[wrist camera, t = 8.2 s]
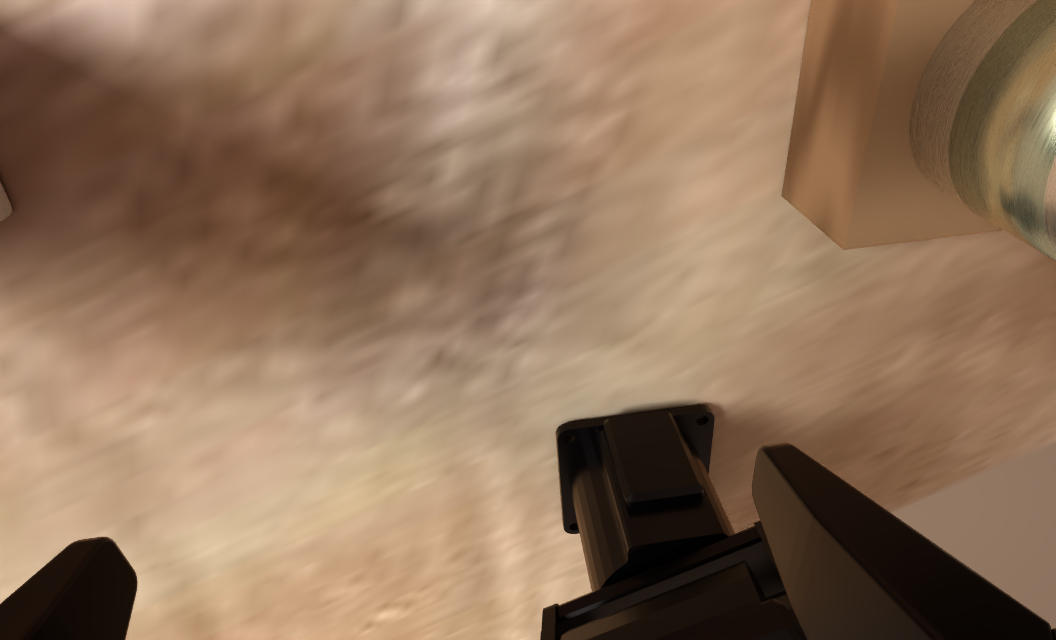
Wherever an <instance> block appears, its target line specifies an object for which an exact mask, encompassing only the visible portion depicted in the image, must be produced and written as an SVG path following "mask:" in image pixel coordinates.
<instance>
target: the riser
mask: <svg viewBox="0 0 1056 640" xmlns="http://www.w3.org/2000/svg"><path fill="white" fill-rule="evenodd" d="M974 1H975V0H811V6H810V12H809V19H808V25H807V32H806V39H805V45H804V52H803V59H802V65H801V72H800V78H799V85H798V92H797V98H796V105H795V112H794V118H793V125H792V132H791V138H790V145H789V151H788V158H787V165H786V171H785V178H784V185H783V191H782V197H783V198H784V199H786V200H787V201H788V202H789V203H790V204H791V205H793V206H794V207H795V208H796V209H797V210H798V211H799V212H801V213H802V214H803V215H804V216H805V217H806V218H808V219H809V220H810V221H811V222H812V223H813V224H814V225H816V226H817V227H818V228H819V229H820V230H821V231H823V232H824V233H825V234H826V235H827V236H828V237H829V238H831V239H832V240H833V241H834V242H835V243H836V244H838V245H839V246H840V247H841V248H842V249H843V250H847V249H855V248H863V247H871V246H879V245H887V244H895V243H903V242H911V241H919V240H927V239H935V238H943V237H951V236H959V235H967V234H975V233H983V232H991V231H999V230H1002V229H1001V228H999V227H997V226H995V225H994V224H992V223H990V222H989V221H987V220H985V219H983V218H982V217H980V216H979V215H977V214H976V213H974V212H973V211H971V210H970V209H969V208H968V207H967V206H965V205H964V204H962V203H960V202H959V201H957V200H955V199H953V198H952V197H950V196H948V195H946V194H945V193H943V192H941V191H940V190H938V189H937V188H935V187H934V186H932V185H931V184H930V183H929V182H928V181H927V180H926V179H925V178H924V176H923V175H922V173H921V172H920V171H919V169H918V167H917V165H916V163H915V160H914V158H913V154H912V150H911V146H910V136H909V125H910V114H911V109H912V103H913V99H914V96H915V93H916V89H917V86H918V83H919V81H920V78H921V76H922V74H923V72H924V69H925V67H926V65H927V63H928V61H929V60H930V58H931V56H932V54H933V52H934V50H935V49H936V47H937V46H938V44H939V43H940V41H941V40H942V38H943V37H944V36H945V34H946V33H947V31H948V30H949V29H950V28H951V26H952V25H953V24H954V23H955V22H956V20H957V19H958V18H959V17H960V16H961V15H962V14H963V13H964V11H965V10H966V9H967V8H968V7H969V6H970V5H971V4H972V3H973V2H974Z"/></svg>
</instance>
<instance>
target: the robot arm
mask: <svg viewBox="0 0 1056 640" xmlns="http://www.w3.org/2000/svg"><path fill="white" fill-rule="evenodd" d="M701 416H704V417H702V418H700V419H698V418H699V417H701ZM713 428H714V415H713V413H712V411H711V409H710V408H709V407H708V406H705V405H697V406H689V407H682V408H674V409H667V410H659V411H652V412H645V413H637V414H630V415H622V416H615V417H607V418H600V419H592V420H585V421H577V422H570V423H565V424H562V425H561V426H559V427H558V428H557V430H556V444H557V457H558V470H559V482H560V495H561V508H562V521H563V526H564V530H565V531H566V532H567V533H570V534H578V533H580V537H581V541H582V546H583V551H584V556H585V561H586V565H587V570H588V575H589V580H590V584H591V589H592V592H591V593H588V594H586V595H583V596H581V597H578V598H576V599H573V600H571V601H568V602H566V603H563V604H561V605H558V604H554V605H552V606H549V607H547V608H544V609H543V615H542V631H541V639H540V640H1056V628H1054V629H1051V626H1050V624H1049V623H1048V622H1047V621H1045V620H1044V619H1042V618H1041V617H1039V616H1038V615H1037V614H1035V613H1034V612H1032V611H1031V610H1029V609H1028V608H1027V607H1025V606H1023V605H1022V604H1021V603H1019V602H1018V601H1016V600H1015V599H1013V598H1012V597H1011V596H1009V595H1008V594H1006V593H1005V592H1003V591H1002V590H1001V589H999V588H998V587H996V586H995V585H993V584H992V583H991V582H989V581H988V580H986V579H985V578H983V577H982V576H980V575H979V574H978V573H976V572H975V571H973V570H972V569H970V568H969V567H968V566H966V565H965V564H963V563H962V562H960V561H959V560H957V559H956V558H954V557H953V556H952V555H950V554H949V553H947V552H946V551H944V550H943V549H942V548H940V547H939V546H937V545H936V544H935V543H933V542H932V541H930V540H929V539H927V538H926V537H924V536H923V535H922V534H920V533H919V532H917V531H916V530H914V529H913V528H911V527H910V526H909V525H907V524H906V523H904V522H903V521H901V520H900V519H899V518H897V517H896V516H894V515H893V514H891V513H890V512H888V511H887V510H886V509H884V508H883V507H881V506H880V505H878V504H877V503H876V502H874V501H873V500H871V499H870V498H868V497H867V496H865V495H864V494H863V493H861V492H860V491H858V490H857V489H855V488H854V487H853V486H851V485H850V484H848V483H847V482H845V481H844V480H842V479H841V478H840V477H838V476H837V475H835V474H834V473H832V472H831V471H830V470H828V469H827V468H825V467H824V466H822V465H821V464H819V463H818V462H817V461H815V460H814V459H812V458H811V457H809V456H808V455H807V454H805V453H804V452H802V451H801V450H799V449H798V448H796V447H795V446H793V445H791V444H789V443H779V444H772V445H765V446H762V447H761V448H760V449H759V450H758V453H757V457H756V463H755V469H754V475H753V481H752V495H753V499H754V503H755V506H756V509H757V511H758V514H759V517H760V521H758V522H756V523H754V525H755V526H753V527H751V528H748V529H746V530H743V531H741V532H738V533H736V534H735V532H734V530H733V528H732V526H731V523H730V521H729V519H728V517H727V515H726V513H725V510H724V508H723V506H722V504H721V502H720V499H719V497H718V495H717V493H716V491H715V488H714V486H713V484H712V482H711V480H710V478H709V475H708V473H709V464H710V455H711V446H712V437H713ZM568 434H572V435H571V436H565V435H568ZM136 592H137V576H136V573H135V571H134V569H133V567H132V566H131V565H130V563H129V562H128V560H127V559H126V557H125V556H124V555H123V553H122V552H121V550H120V549H119V547H118V546H117V545H116V543H115V542H114V541H113V540H112V539H110V538H108V537H97V538H89V539H82V540H78V541H75V542H73V543H71V544H70V545H69V546H67V547H66V548H65V549H64V550H63V551H61V552H60V553H59V554H58V555H57V556H56V557H54V558H53V559H52V560H51V561H50V562H49V563H47V564H46V565H45V566H44V567H43V568H42V569H40V570H39V571H38V572H37V573H36V574H35V575H33V576H32V577H31V578H30V579H29V580H28V581H26V582H25V583H24V584H23V585H22V586H21V587H19V588H18V589H17V590H16V591H15V592H14V593H12V594H11V595H10V596H9V597H8V598H7V599H5V600H4V601H3V602H2V603H1V604H0V640H125V639H126V635H127V631H128V626H129V622H130V618H131V613H132V609H133V605H134V600H135V596H136Z"/></svg>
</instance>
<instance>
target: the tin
mask: <svg viewBox="0 0 1056 640" xmlns="http://www.w3.org/2000/svg"><path fill="white" fill-rule="evenodd" d="M909 136H910V146H911V150H912V154H913V158H914V160H915V163H916V165H917V167H918V169H919V171H920V172H921V173H922V175H923V176H924V178H925V179H926V180H927V181H928V182H929V183H930V184H931V185H932V186H934V187H935V188H937V189H938V190H940V191H941V192H943V193H945V194H946V195H948V196H950V197H952V198H953V199H955V200H957V201H959V202H960V203H962V204H964V205H965V206H967V207H968V208H969V209H970V210H971V211H973V212H974V213H976V214H977V215H979V216H980V217H982V218H983V219H985V220H987V221H989V222H990V223H992V224H994V225H995V226H997V227H999V228H1001V229H1002V230H1004V231H1006V232H1007V233H1009V234H1011V235H1013V236H1014V237H1016V238H1018V239H1019V240H1021V241H1023V242H1025V243H1026V244H1028V245H1030V246H1031V247H1033V248H1035V249H1037V250H1038V251H1040V252H1042V253H1043V254H1045V255H1047V256H1049V257H1050V258H1052V259H1054V260H1055V261H1056V0H975V1H974V2H973V3H972V4H971V5H970V6H969V7H968V8H967V9H966V10H965V11H964V13H963V14H962V15H961V16H960V17H959V18H958V19H957V20H956V22H955V23H954V24H953V25H952V26H951V28H950V29H949V30H948V31H947V33H946V34H945V36H944V37H943V38H942V40H941V41H940V43H939V44H938V46H937V47H936V49H935V50H934V52H933V54H932V56H931V58H930V60H929V61H928V63H927V65H926V67H925V69H924V72H923V74H922V76H921V78H920V81H919V83H918V86H917V89H916V93H915V96H914V99H913V103H912V109H911V114H910V125H909Z"/></svg>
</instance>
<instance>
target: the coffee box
mask: <svg viewBox="0 0 1056 640" xmlns="http://www.w3.org/2000/svg"><path fill="white" fill-rule="evenodd" d="M11 212H12V207H11V204H10V201H9V199H8V197H7V195H6V193H5V190H4V188H3V186H2V184H1V182H0V222H1V221H3V220H4V219H6V218H7V217H9V216H10V214H11Z"/></svg>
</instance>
